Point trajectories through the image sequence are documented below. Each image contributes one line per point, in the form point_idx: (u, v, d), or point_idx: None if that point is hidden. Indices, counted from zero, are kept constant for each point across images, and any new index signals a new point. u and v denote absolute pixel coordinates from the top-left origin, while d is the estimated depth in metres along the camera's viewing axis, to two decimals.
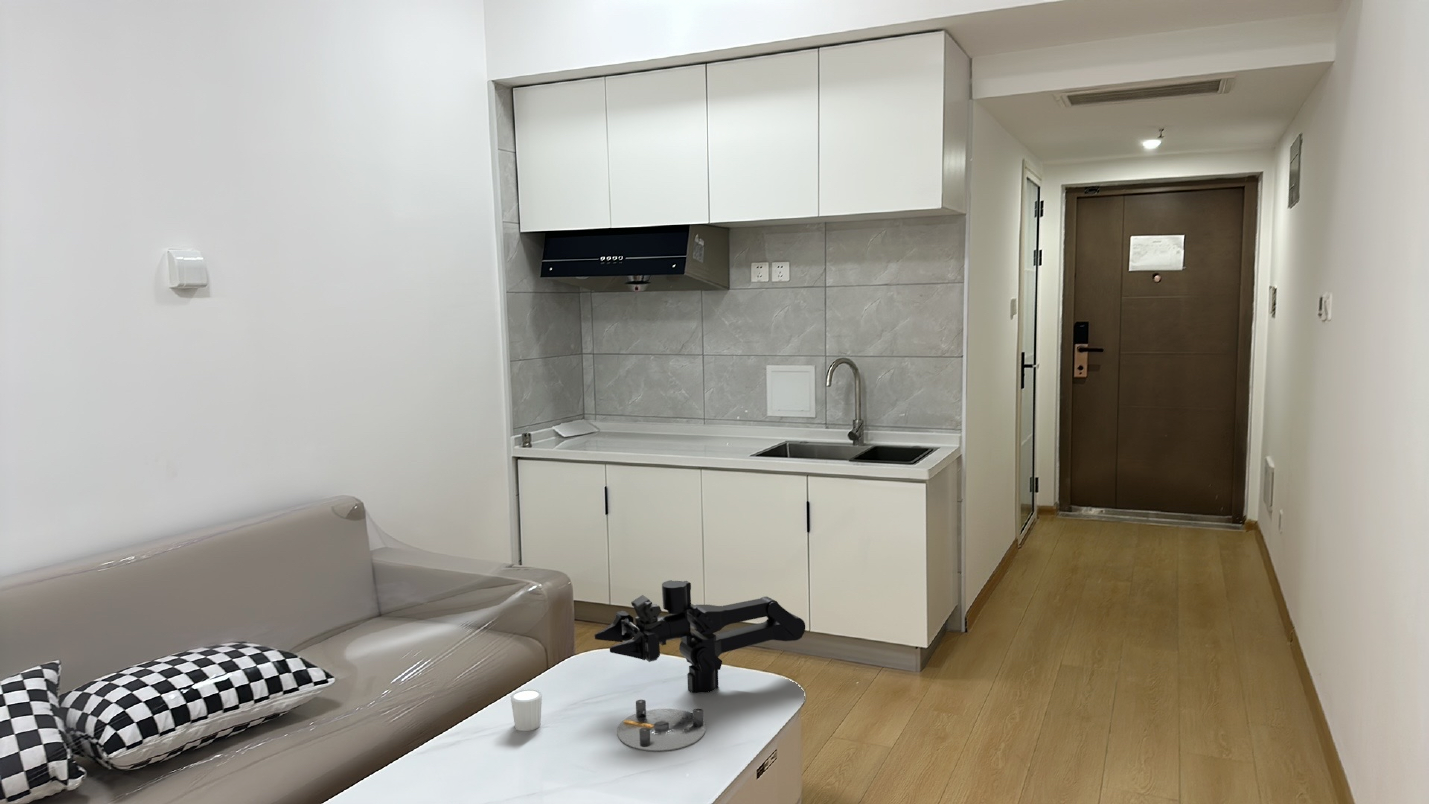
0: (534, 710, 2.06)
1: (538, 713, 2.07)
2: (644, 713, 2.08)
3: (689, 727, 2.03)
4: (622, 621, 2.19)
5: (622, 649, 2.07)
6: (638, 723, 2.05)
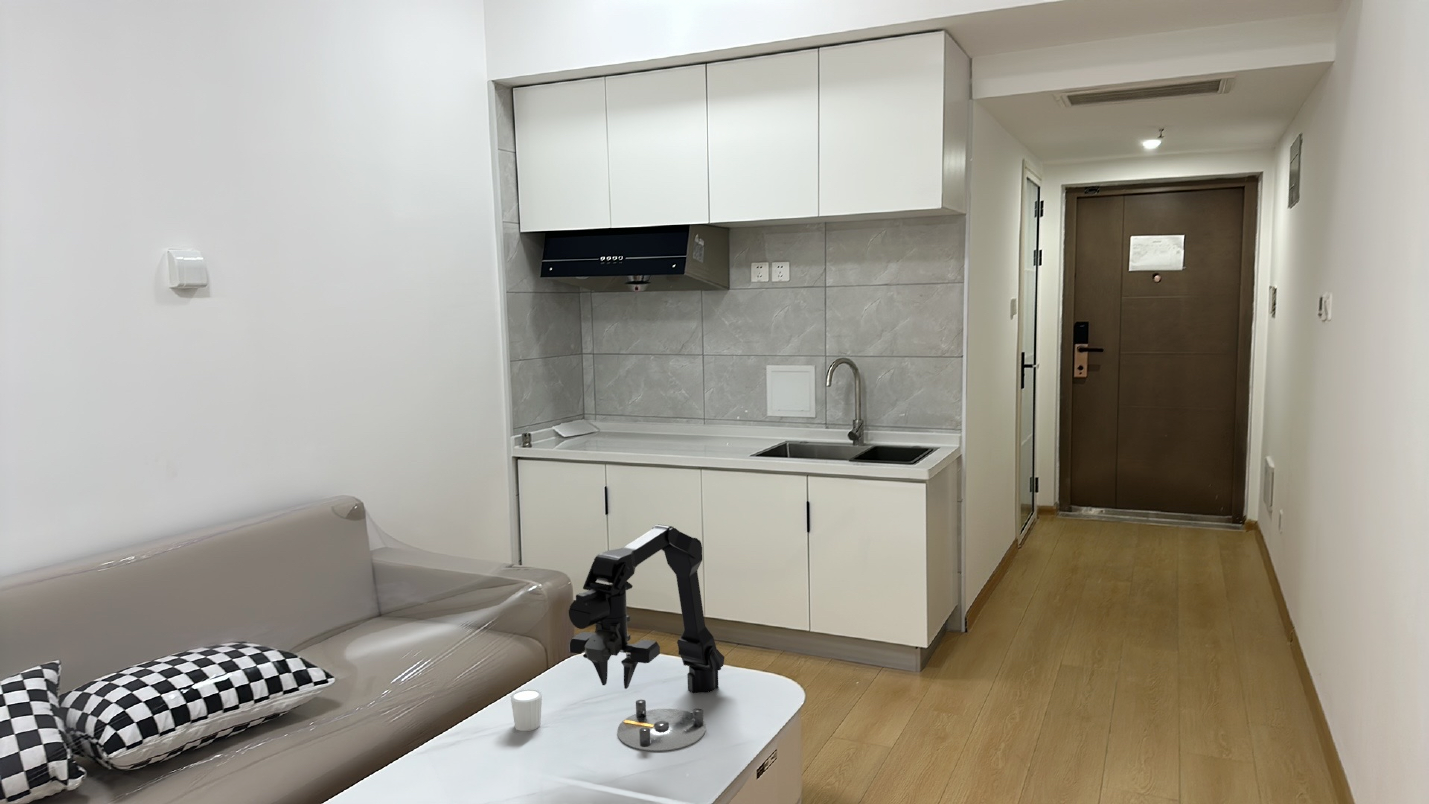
0: (534, 710, 2.06)
1: (538, 713, 2.07)
2: (644, 713, 2.08)
3: (689, 727, 2.03)
4: None
5: (630, 676, 1.95)
6: (638, 723, 2.05)
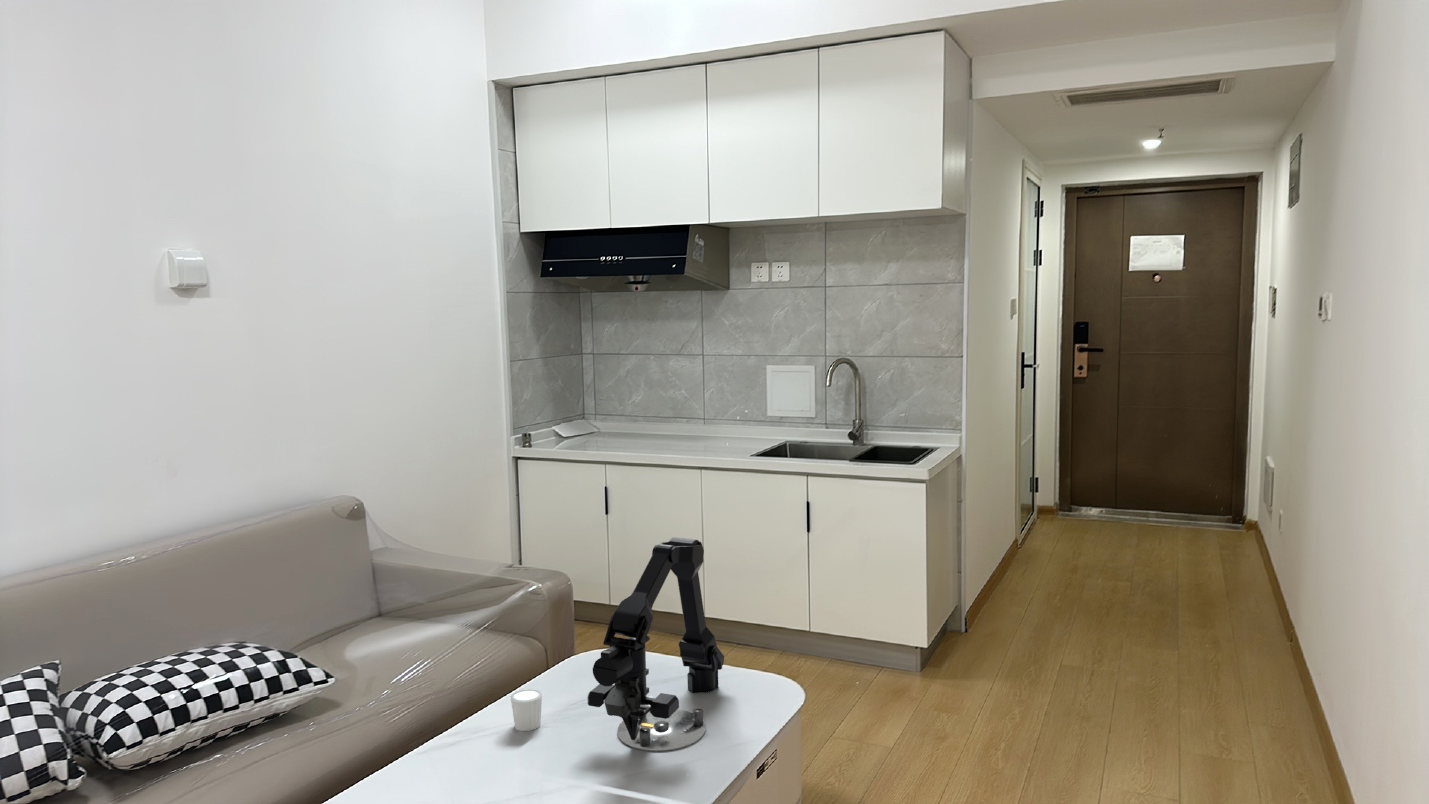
0: (534, 710, 2.06)
1: (538, 713, 2.07)
2: None
3: (689, 727, 2.03)
4: None
5: (638, 728, 1.96)
6: None
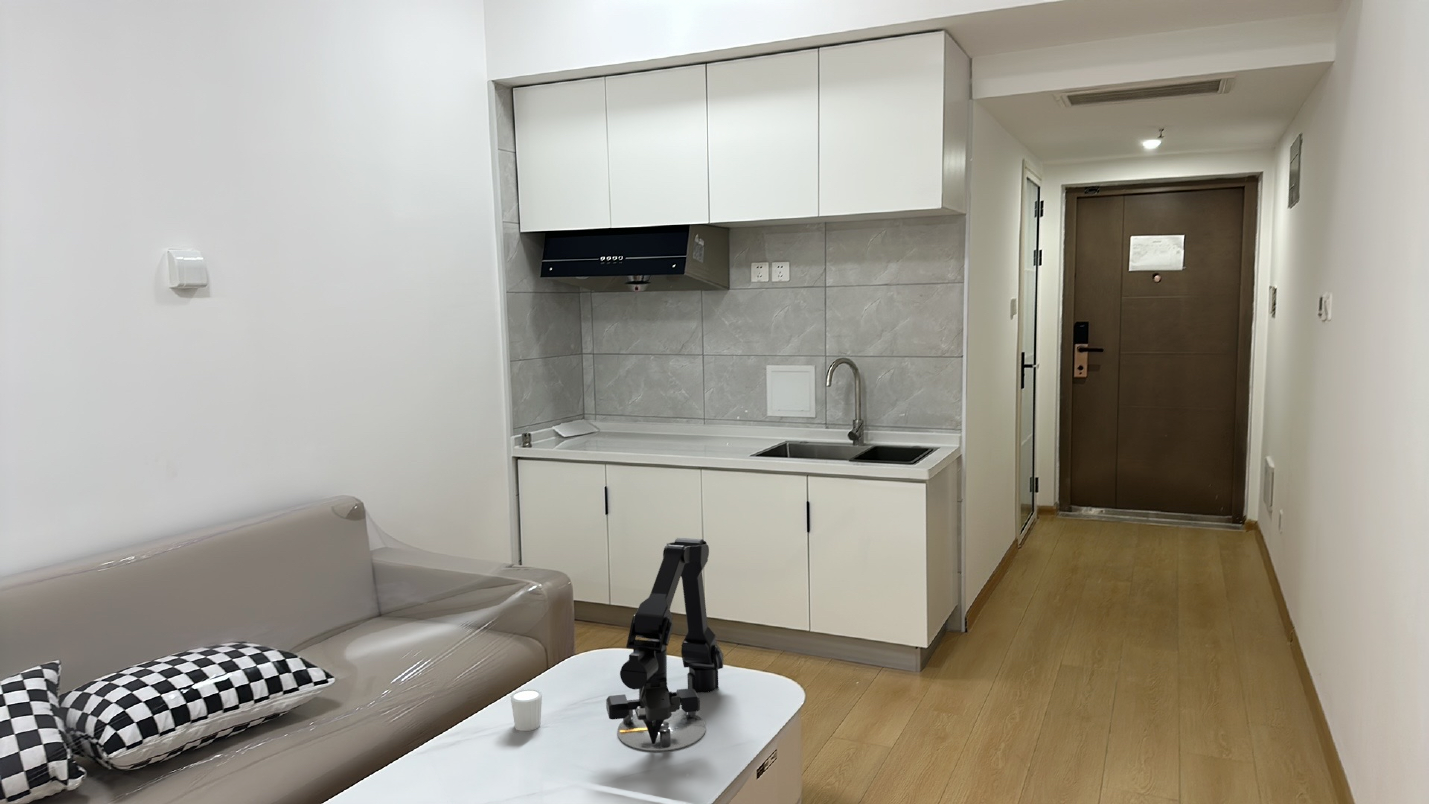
0: (534, 710, 2.06)
1: (538, 713, 2.07)
2: (632, 719, 2.06)
3: (686, 721, 2.06)
4: None
5: None
6: (635, 729, 2.02)
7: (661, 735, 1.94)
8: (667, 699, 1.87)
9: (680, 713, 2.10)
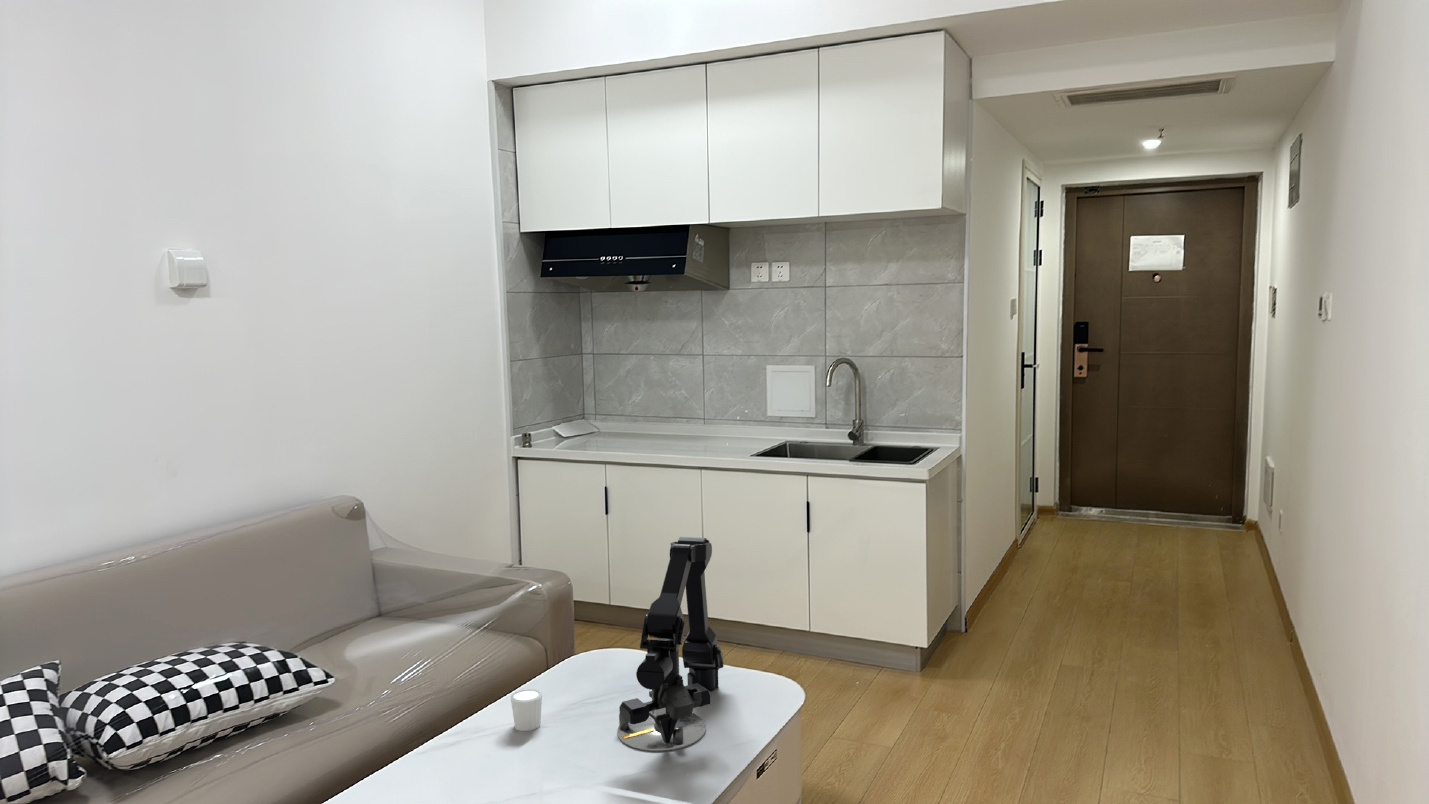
0: (534, 710, 2.06)
1: (538, 713, 2.07)
2: None
3: None
4: None
5: None
6: (638, 733, 2.00)
7: (675, 733, 1.95)
8: (688, 696, 1.89)
9: None
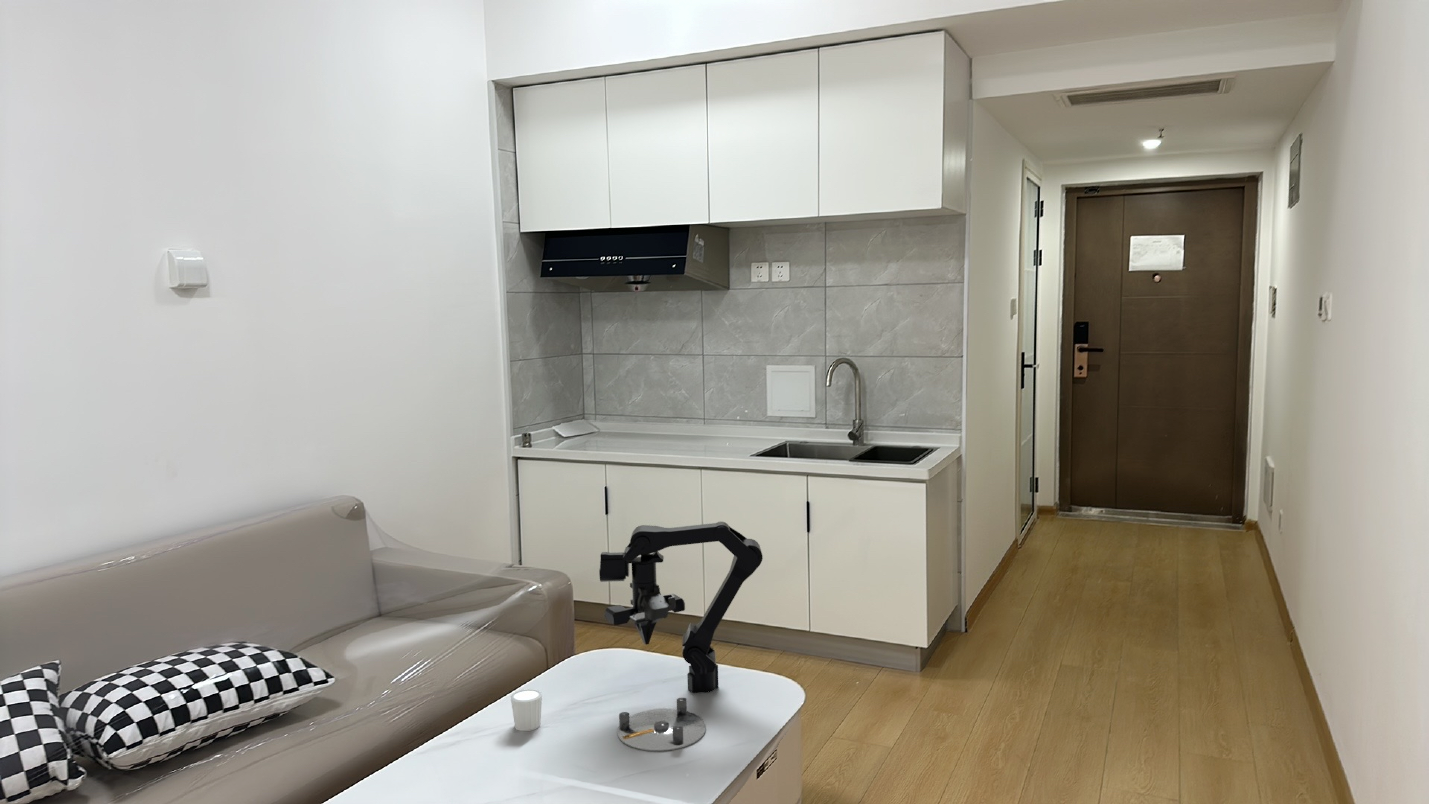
0: (534, 710, 2.06)
1: (538, 713, 2.07)
2: None
3: (680, 717, 2.07)
4: None
5: None
6: (638, 733, 2.00)
7: (675, 733, 1.95)
8: (664, 601, 2.17)
9: (669, 711, 2.11)
